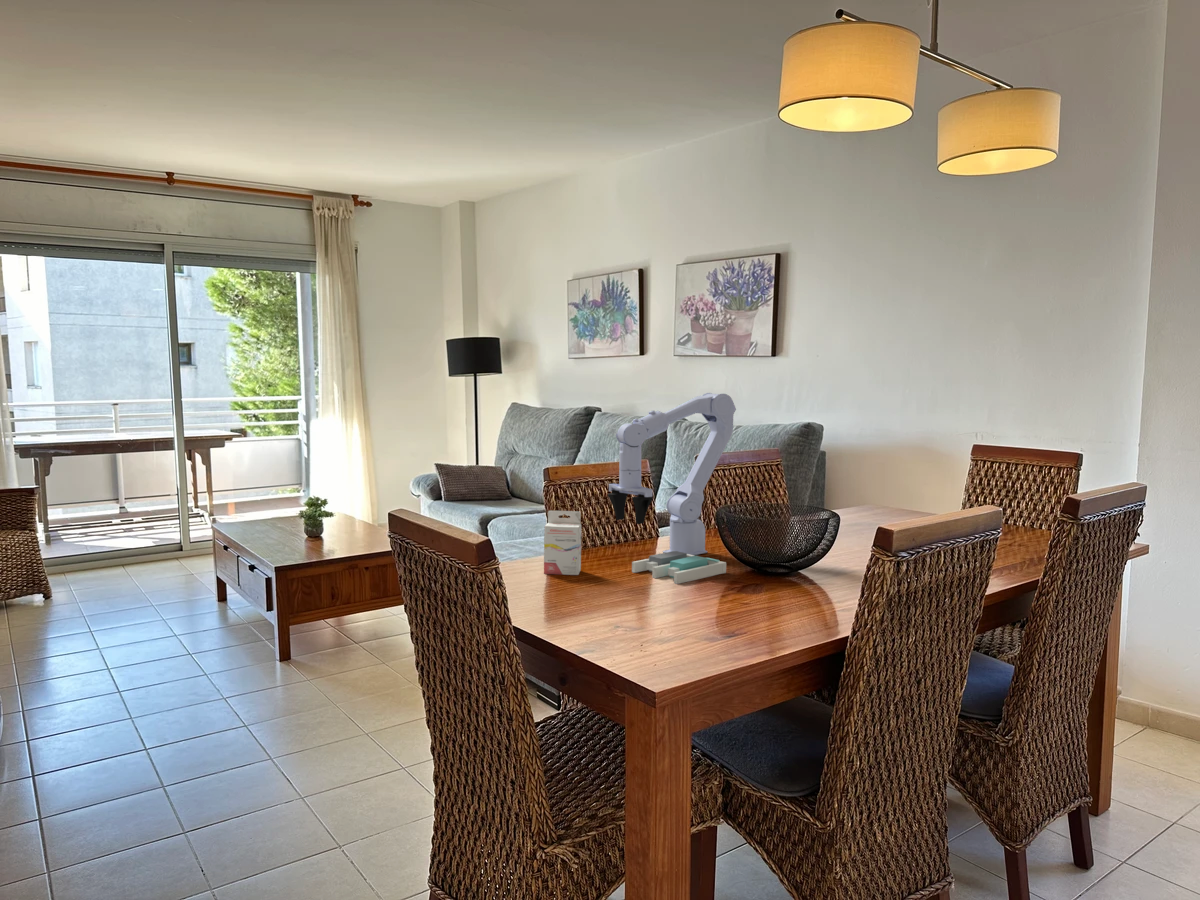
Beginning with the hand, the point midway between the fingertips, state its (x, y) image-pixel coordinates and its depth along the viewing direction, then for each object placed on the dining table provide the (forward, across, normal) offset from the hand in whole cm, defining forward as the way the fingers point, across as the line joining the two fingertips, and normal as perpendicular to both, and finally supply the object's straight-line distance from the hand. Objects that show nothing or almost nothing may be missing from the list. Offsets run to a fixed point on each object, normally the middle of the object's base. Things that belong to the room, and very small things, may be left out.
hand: (629, 521), depth 215 cm
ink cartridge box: (+10, +2, -24) cm, 26 cm away
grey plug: (+10, +16, -3) cm, 19 cm away
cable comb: (+9, +20, -2) cm, 22 cm away
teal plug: (+10, +24, -3) cm, 26 cm away
